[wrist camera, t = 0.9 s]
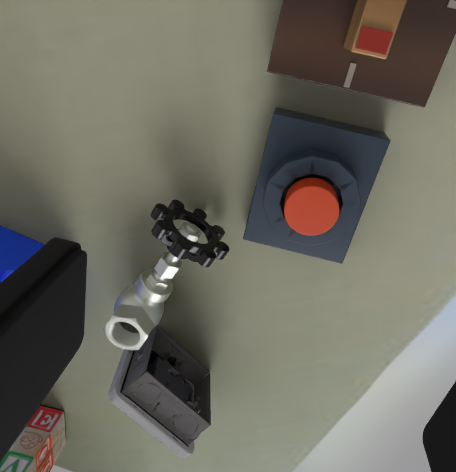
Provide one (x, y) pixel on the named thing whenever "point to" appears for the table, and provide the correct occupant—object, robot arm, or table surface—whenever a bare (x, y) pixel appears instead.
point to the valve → (162, 273)
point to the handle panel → (358, 65)
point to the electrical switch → (164, 392)
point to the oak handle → (374, 27)
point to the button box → (314, 166)
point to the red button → (311, 206)
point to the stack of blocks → (37, 443)
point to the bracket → (14, 251)
